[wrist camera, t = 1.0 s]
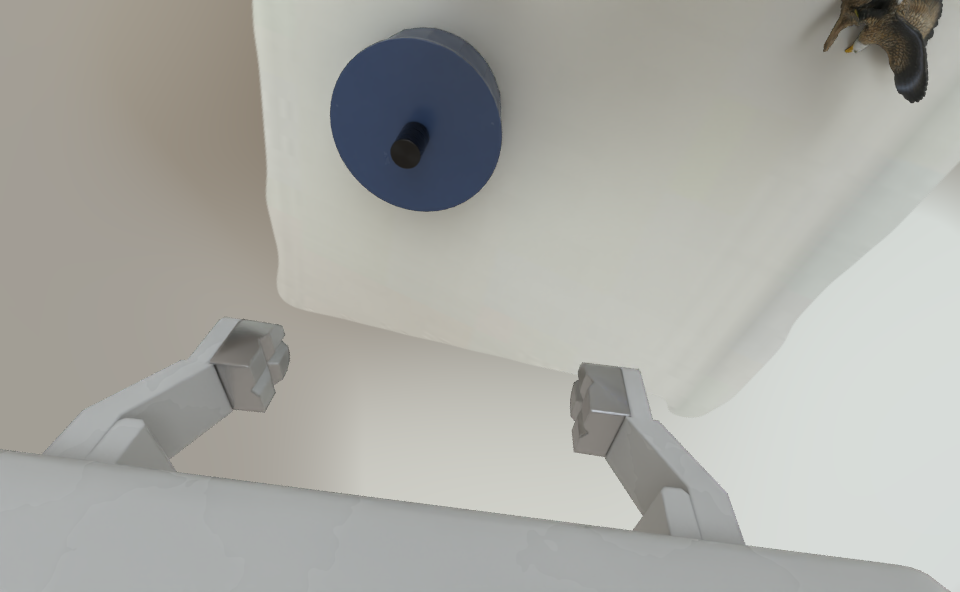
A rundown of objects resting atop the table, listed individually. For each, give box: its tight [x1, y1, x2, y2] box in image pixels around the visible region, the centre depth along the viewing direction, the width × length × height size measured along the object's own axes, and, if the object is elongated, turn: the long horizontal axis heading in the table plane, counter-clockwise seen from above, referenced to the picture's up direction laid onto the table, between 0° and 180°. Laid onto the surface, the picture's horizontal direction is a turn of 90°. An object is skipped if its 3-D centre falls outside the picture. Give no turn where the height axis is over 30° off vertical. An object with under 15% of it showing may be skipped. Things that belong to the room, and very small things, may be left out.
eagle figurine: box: [823, 0, 943, 103], centre depth 34 cm, size 8×7×9 cm
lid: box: [330, 37, 502, 212], centre depth 37 cm, size 15×15×5 cm
